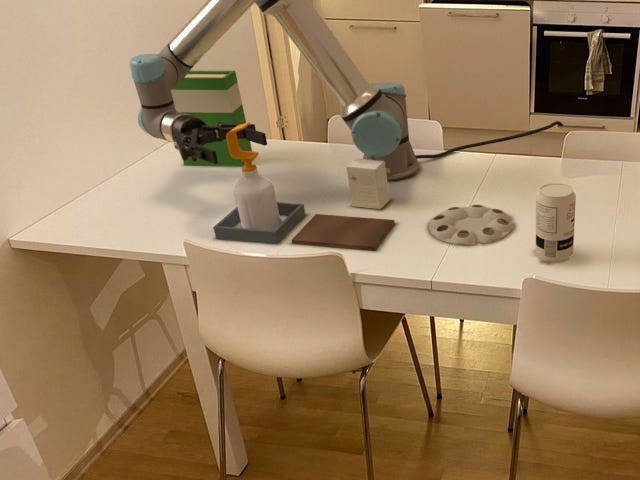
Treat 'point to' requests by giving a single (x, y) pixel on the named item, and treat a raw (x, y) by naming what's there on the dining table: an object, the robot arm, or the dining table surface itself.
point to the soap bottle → (253, 189)
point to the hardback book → (212, 108)
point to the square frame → (257, 235)
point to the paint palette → (470, 225)
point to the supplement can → (555, 222)
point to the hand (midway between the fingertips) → (240, 148)
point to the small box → (368, 183)
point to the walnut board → (344, 232)
